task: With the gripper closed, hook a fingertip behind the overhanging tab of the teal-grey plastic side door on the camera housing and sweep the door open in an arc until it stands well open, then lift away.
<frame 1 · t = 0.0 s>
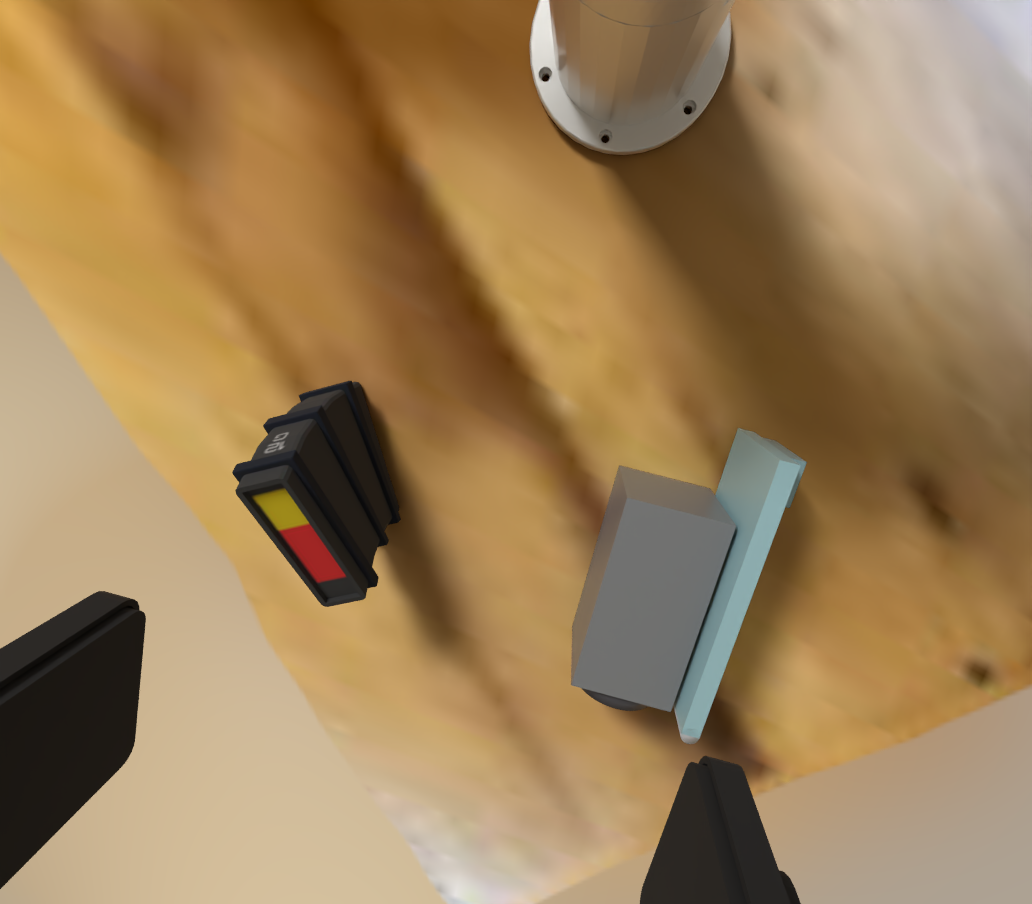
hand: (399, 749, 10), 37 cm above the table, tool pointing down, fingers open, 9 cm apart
side door: (725, 580, 42), point 5 cm above the table, hinge at 0.0°
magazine: (368, 463, 48), on the table
camera housing: (638, 559, 48), on the table
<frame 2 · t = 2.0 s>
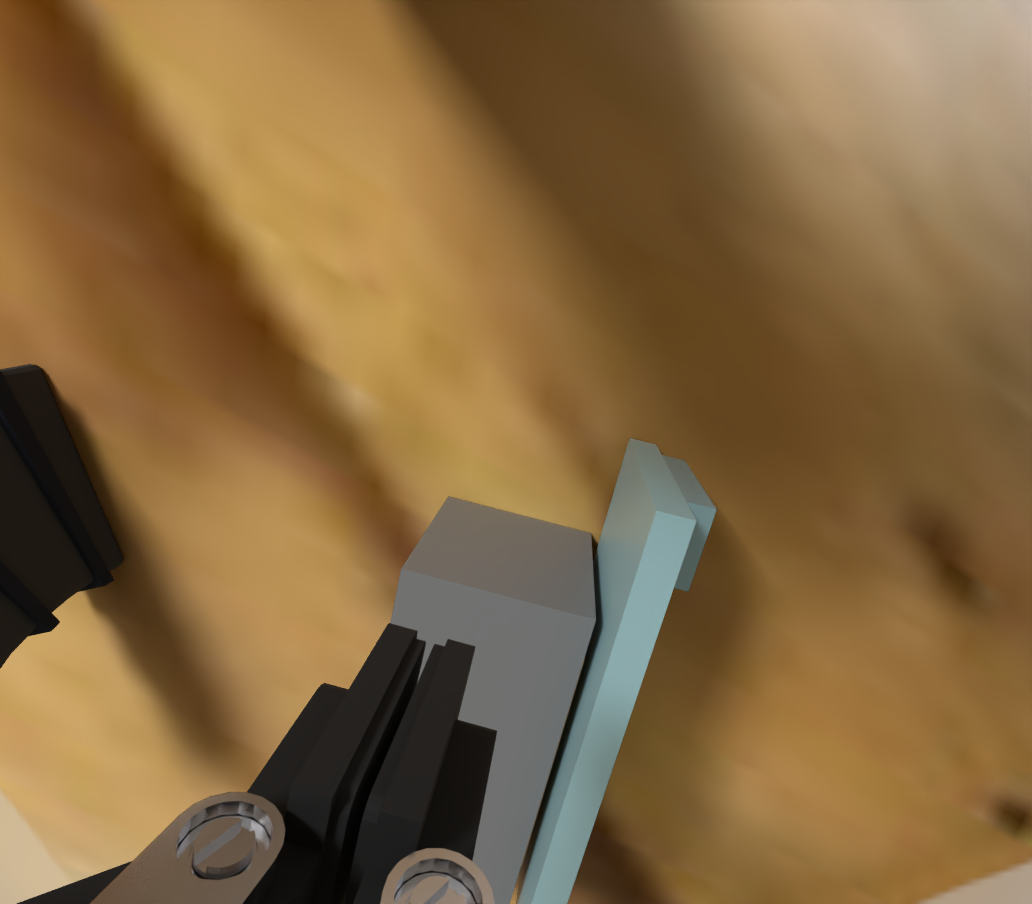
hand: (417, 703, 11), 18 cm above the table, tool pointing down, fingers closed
side door: (598, 696, 25), point 5 cm above the table, hinge at 0.0°
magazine: (73, 492, 31), on the table
camera housing: (487, 640, 31), on the table
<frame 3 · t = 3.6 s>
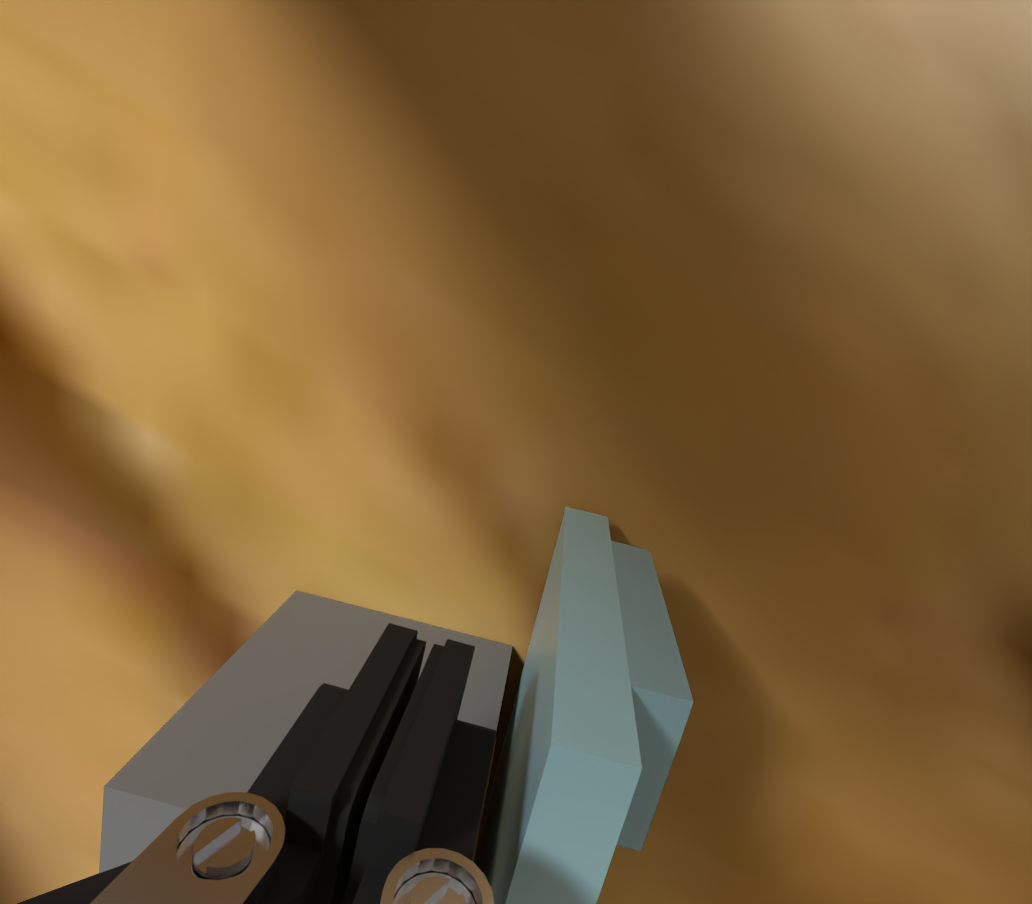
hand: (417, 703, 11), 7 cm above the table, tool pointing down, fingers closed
camera housing: (368, 797, 21), on the table
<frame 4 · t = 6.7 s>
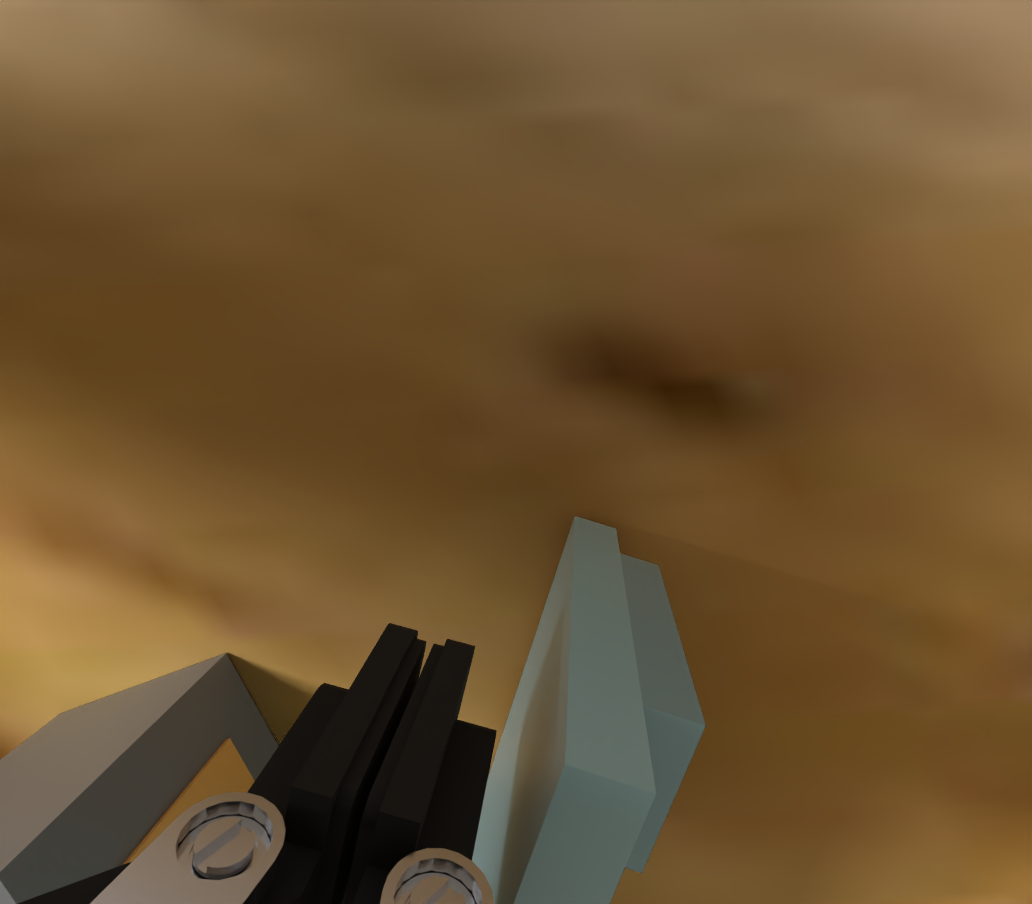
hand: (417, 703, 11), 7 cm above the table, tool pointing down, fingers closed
camera housing: (238, 849, 22), on the table
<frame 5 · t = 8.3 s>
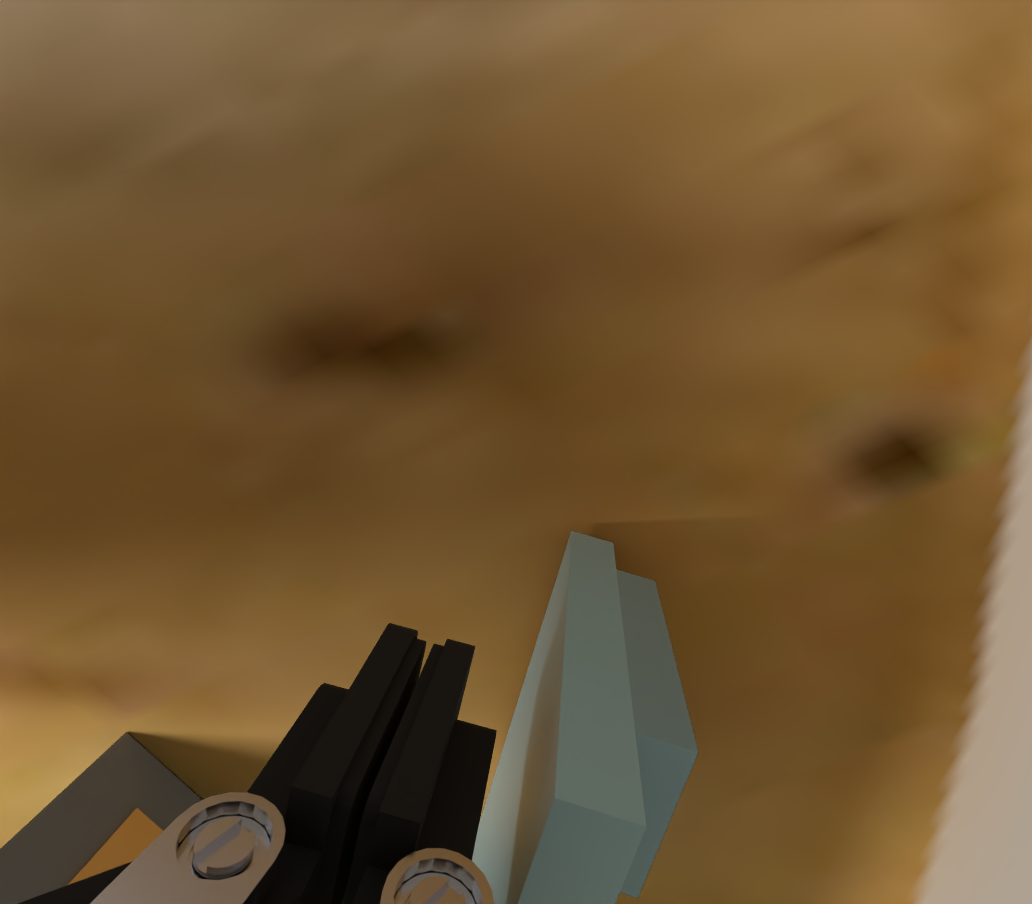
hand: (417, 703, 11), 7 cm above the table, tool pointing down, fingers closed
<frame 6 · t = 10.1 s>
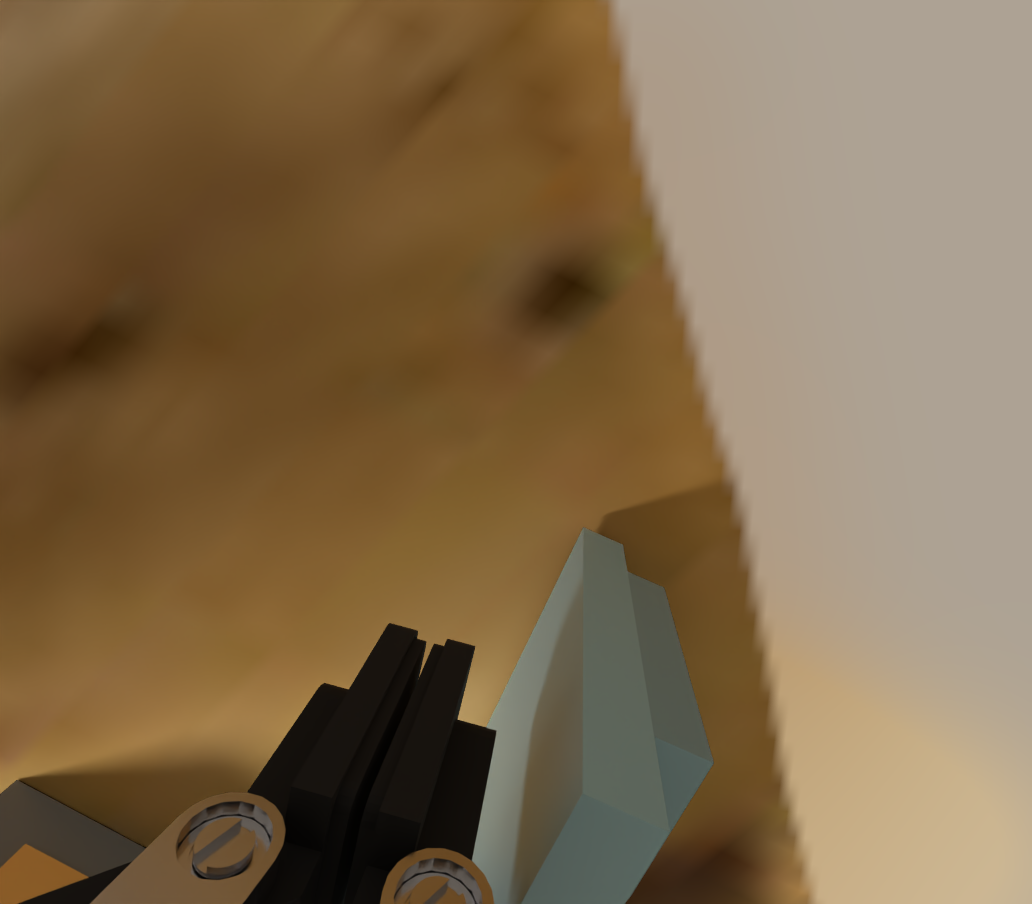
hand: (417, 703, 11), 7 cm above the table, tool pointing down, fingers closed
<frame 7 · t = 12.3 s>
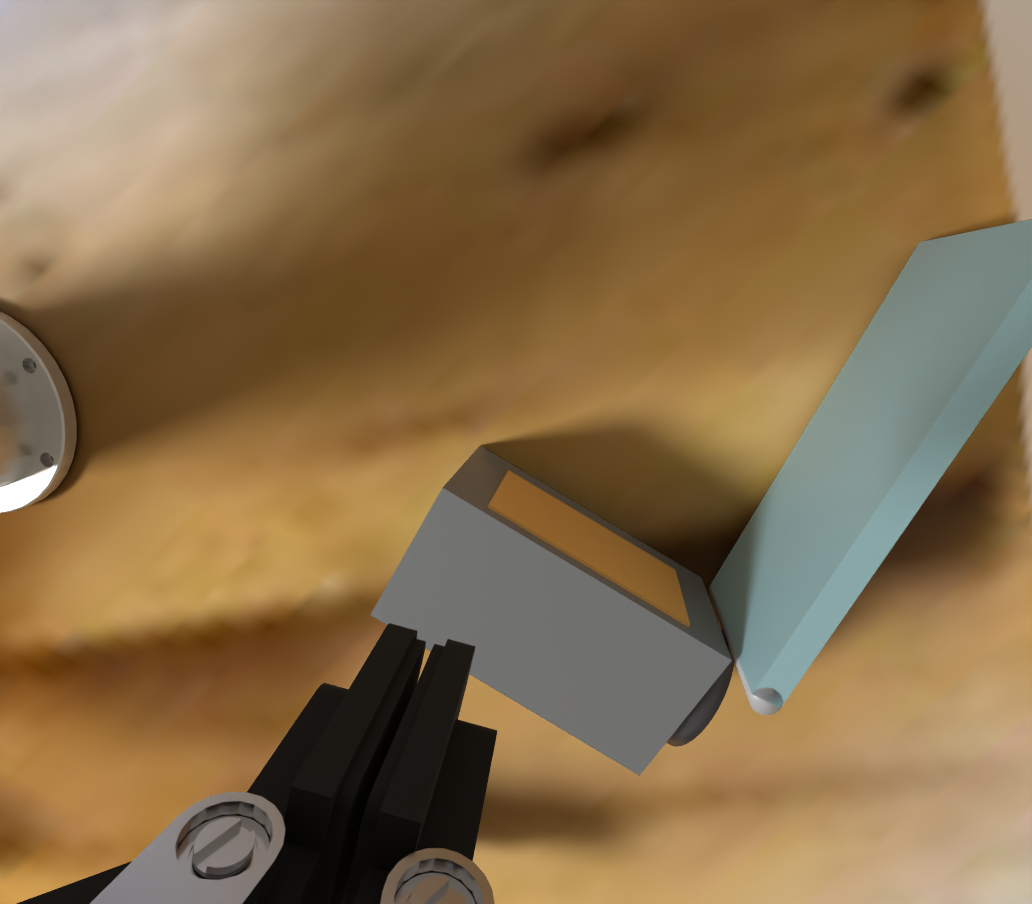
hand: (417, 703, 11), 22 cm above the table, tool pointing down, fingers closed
side door: (862, 467, 25), point 5 cm above the table, hinge at 84.6°, touching camera housing
camera housing: (557, 561, 34), on the table
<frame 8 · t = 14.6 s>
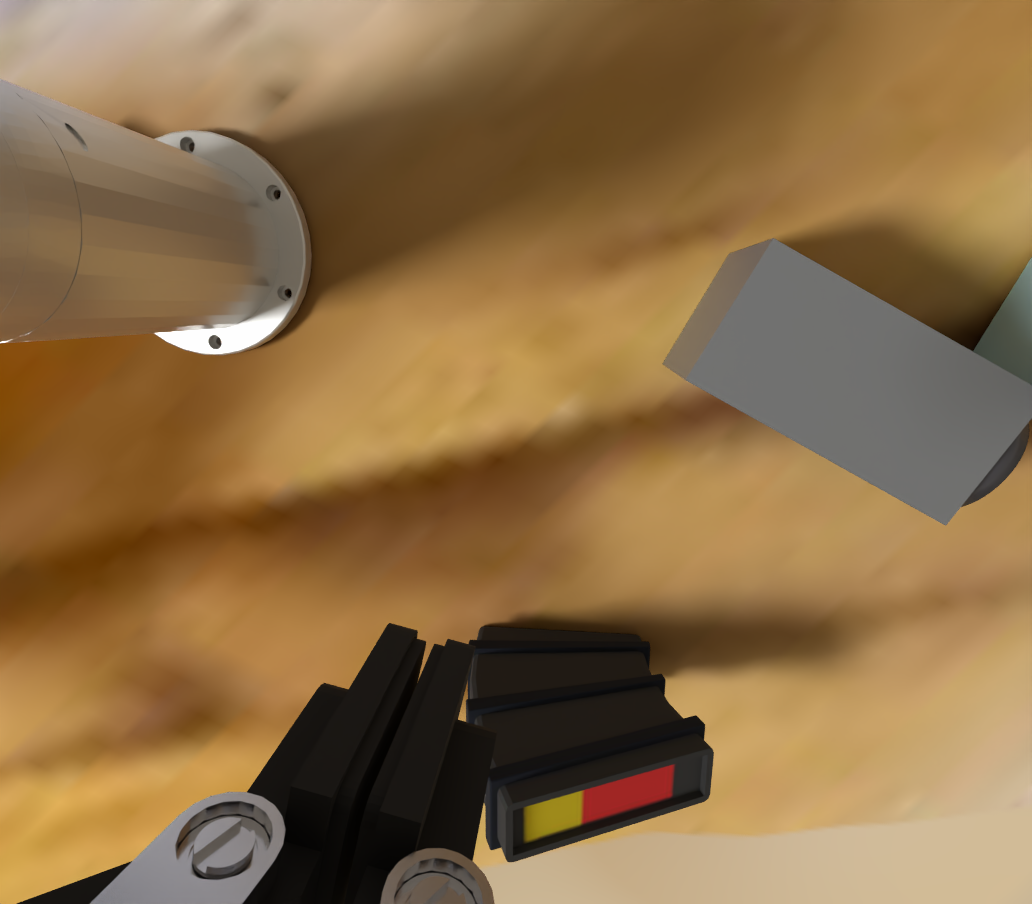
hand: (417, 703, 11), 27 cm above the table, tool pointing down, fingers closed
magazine: (575, 648, 41), on the table
camera housing: (800, 369, 35), on the table
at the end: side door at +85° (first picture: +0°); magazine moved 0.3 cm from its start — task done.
